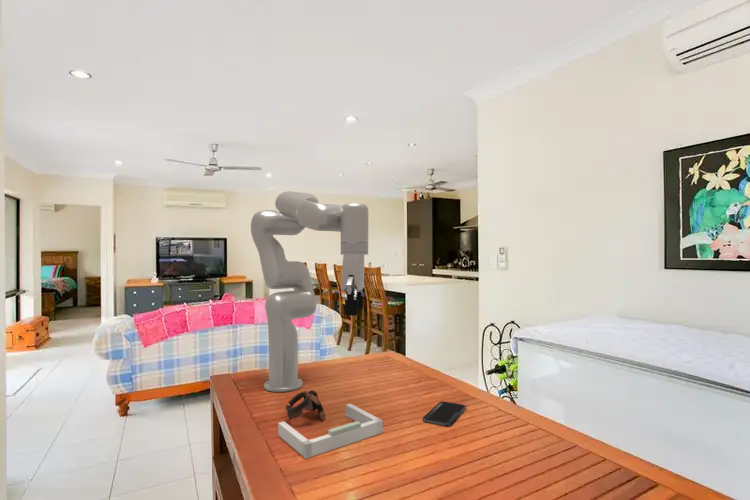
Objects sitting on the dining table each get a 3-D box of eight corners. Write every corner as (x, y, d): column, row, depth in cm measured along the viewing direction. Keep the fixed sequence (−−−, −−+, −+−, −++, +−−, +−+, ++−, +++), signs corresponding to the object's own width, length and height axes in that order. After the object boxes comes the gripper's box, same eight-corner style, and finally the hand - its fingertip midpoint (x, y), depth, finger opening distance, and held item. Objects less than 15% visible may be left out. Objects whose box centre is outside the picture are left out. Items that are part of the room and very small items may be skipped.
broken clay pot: (324, 428, 105) (308, 403, 103) (293, 442, 106) (277, 417, 105) (332, 400, 116) (317, 377, 115) (304, 413, 118) (289, 390, 116)
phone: (421, 418, 107) (441, 400, 120) (421, 423, 107) (441, 404, 120) (450, 424, 103) (467, 405, 116) (450, 429, 103) (467, 409, 116)
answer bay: (278, 435, 100) (278, 418, 100) (350, 414, 112) (350, 399, 112) (305, 458, 88) (305, 440, 88) (382, 432, 101) (382, 416, 101)
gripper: (346, 249, 120) (346, 307, 120) (334, 249, 103) (333, 317, 103) (371, 249, 119) (371, 308, 119) (363, 249, 102) (363, 318, 102)
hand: (354, 312), depth 111 cm, fingers open, 9 cm apart
